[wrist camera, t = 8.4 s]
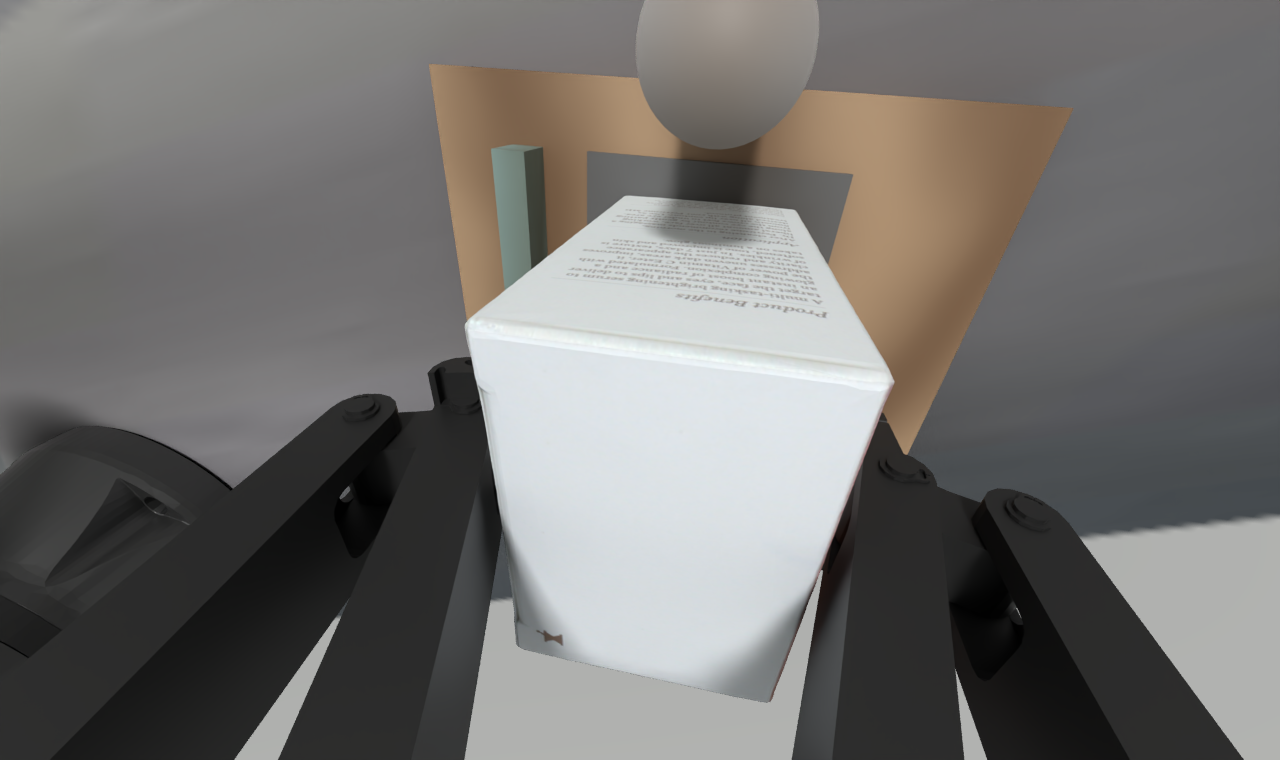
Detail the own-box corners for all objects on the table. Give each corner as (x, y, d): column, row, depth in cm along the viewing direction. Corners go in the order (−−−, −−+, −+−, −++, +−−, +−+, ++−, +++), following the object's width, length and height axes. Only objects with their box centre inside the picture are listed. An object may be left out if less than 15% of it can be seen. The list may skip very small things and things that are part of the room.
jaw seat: (497, 436, 23) (378, 606, 15) (442, 11, 14) (98, -93, 7) (870, 496, 21) (950, 726, 13) (1074, 46, 12) (1661, -45, 5)
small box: (754, 416, 18) (773, 715, 9) (616, 397, 19) (512, 659, 10) (801, 204, 14) (917, 380, 5) (622, 188, 15) (451, 321, 6)
